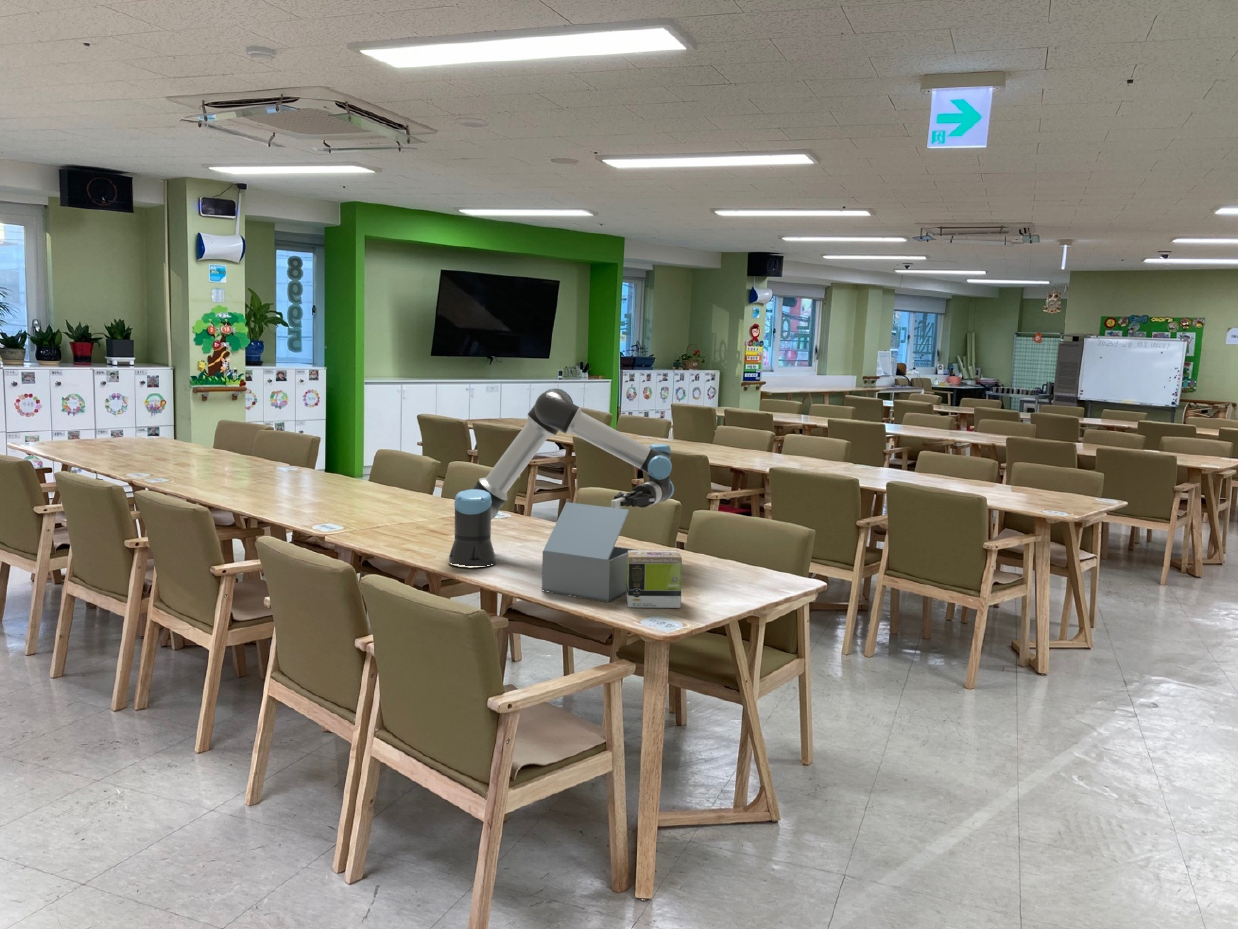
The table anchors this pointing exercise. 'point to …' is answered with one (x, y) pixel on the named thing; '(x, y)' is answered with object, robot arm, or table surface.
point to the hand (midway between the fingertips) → (613, 505)
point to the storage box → (586, 575)
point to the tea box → (654, 578)
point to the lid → (586, 531)
